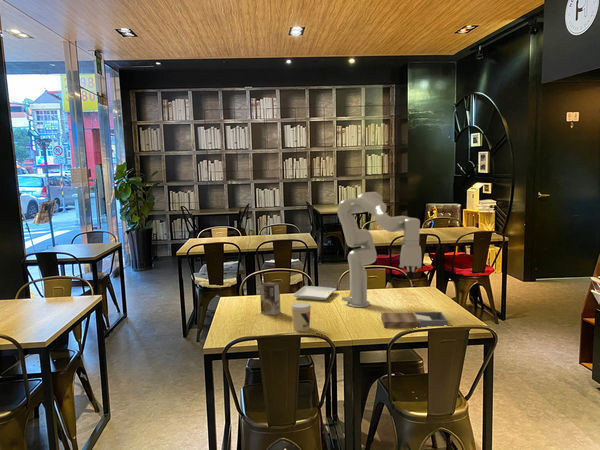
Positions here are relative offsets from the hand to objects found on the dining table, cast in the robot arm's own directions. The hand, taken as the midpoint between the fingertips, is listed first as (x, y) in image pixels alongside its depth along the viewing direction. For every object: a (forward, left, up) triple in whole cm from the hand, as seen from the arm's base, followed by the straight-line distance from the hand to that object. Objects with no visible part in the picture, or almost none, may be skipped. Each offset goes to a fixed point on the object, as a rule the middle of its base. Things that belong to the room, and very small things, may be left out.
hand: (409, 279), depth 238 cm
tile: (+6, -6, -20) cm, 22 cm away
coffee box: (-72, +12, -21) cm, 76 cm away
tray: (+9, -5, -21) cm, 24 cm away
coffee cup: (-54, -13, -21) cm, 60 cm away
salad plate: (-49, +45, -22) cm, 70 cm away
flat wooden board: (-6, -5, -21) cm, 23 cm away
